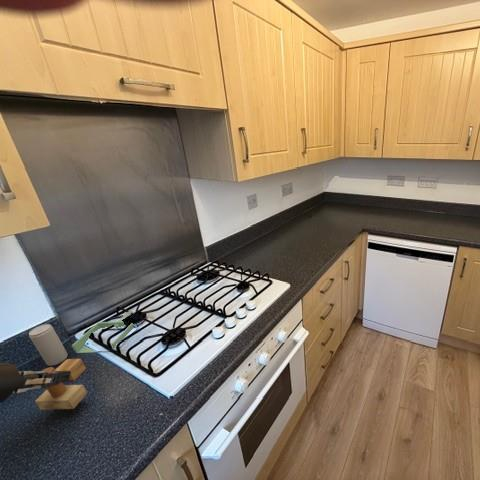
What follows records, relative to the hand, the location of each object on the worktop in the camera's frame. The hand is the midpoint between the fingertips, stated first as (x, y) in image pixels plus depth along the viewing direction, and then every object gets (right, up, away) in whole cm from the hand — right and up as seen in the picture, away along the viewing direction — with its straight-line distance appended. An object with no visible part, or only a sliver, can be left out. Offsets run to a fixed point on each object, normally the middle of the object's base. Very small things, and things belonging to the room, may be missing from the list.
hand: (61, 376), depth 62 cm
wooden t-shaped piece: (0, -6, 0) cm, 6 cm away
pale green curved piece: (-7, +1, +26) cm, 27 cm away
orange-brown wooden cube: (-7, -5, +11) cm, 14 cm away
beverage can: (-17, -4, +16) cm, 24 cm away
